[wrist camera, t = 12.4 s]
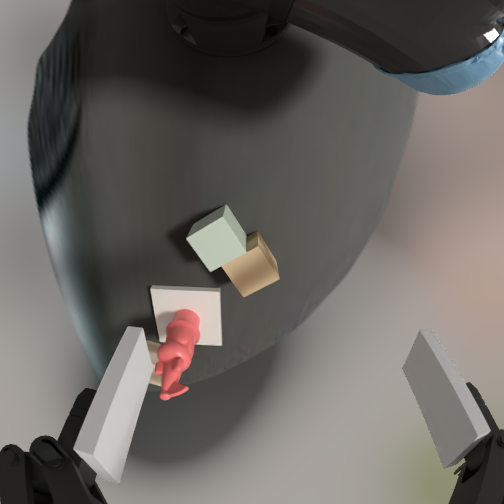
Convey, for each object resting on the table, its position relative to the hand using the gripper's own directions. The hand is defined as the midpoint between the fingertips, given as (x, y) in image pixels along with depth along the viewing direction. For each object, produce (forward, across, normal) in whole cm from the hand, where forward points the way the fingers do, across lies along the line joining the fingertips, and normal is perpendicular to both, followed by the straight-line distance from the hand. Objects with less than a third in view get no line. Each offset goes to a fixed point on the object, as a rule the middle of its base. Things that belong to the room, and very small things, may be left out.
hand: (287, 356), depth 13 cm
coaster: (+26, -11, -18) cm, 33 cm away
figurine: (+25, -11, -18) cm, 33 cm away
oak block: (+26, -2, -8) cm, 27 cm away
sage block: (+26, -6, -4) cm, 27 cm away
